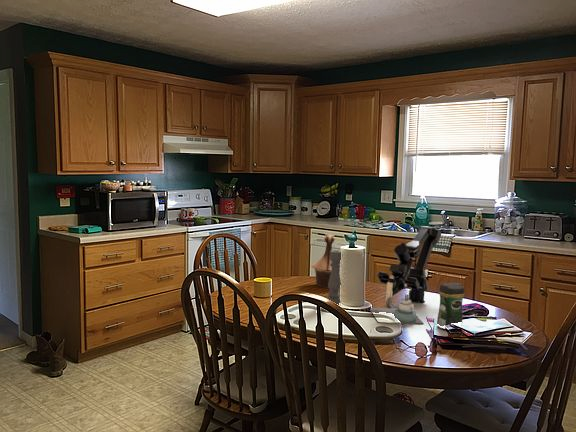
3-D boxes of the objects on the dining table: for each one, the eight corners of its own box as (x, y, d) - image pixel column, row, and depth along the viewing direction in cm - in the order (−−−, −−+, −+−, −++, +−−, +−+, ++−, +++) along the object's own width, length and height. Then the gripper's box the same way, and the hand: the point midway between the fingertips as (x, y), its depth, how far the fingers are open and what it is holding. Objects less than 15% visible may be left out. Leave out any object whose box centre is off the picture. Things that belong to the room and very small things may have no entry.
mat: (410, 310, 223) (411, 309, 223) (423, 324, 204) (423, 322, 204) (369, 309, 223) (369, 307, 223) (377, 322, 204) (377, 321, 204)
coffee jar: (452, 324, 206) (456, 280, 204) (465, 330, 199) (468, 285, 197) (433, 325, 203) (436, 281, 201) (444, 332, 196) (448, 286, 194)
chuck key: (416, 314, 207) (418, 288, 206) (405, 316, 204) (407, 290, 203) (391, 305, 219) (393, 281, 218) (381, 307, 216) (382, 282, 215)
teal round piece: (412, 317, 213) (413, 309, 213) (418, 324, 204) (419, 315, 204) (391, 316, 213) (392, 308, 213) (396, 323, 204) (397, 314, 204)
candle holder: (331, 307, 224) (334, 252, 221) (324, 303, 229) (327, 250, 226) (343, 305, 227) (345, 252, 224) (335, 302, 232) (338, 249, 229)
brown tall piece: (343, 290, 254) (346, 237, 251) (310, 289, 254) (313, 235, 251) (340, 282, 271) (343, 232, 268) (309, 281, 271) (312, 231, 269)
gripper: (380, 254, 226) (366, 281, 218) (418, 260, 214) (405, 289, 207) (387, 268, 233) (374, 295, 225) (424, 275, 221) (412, 304, 214)
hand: (391, 295), depth 218 cm, fingers closed
